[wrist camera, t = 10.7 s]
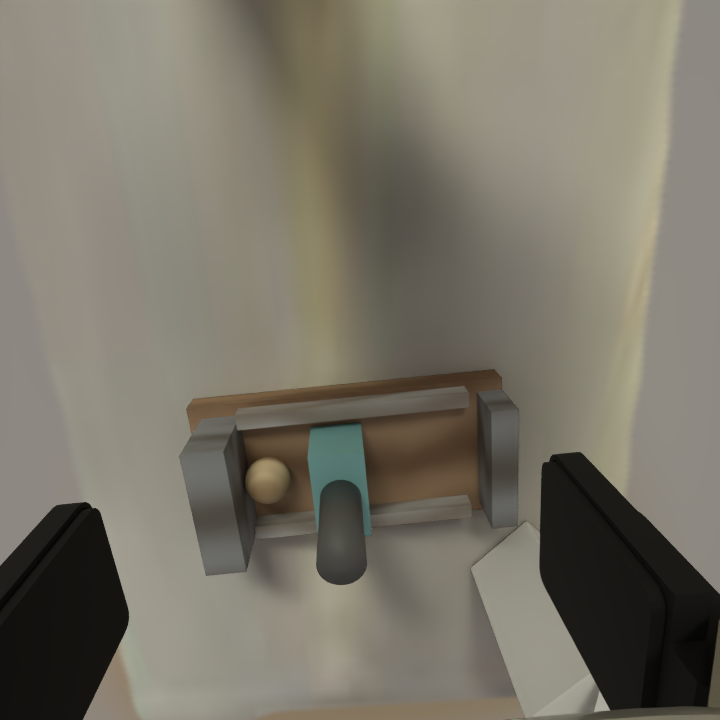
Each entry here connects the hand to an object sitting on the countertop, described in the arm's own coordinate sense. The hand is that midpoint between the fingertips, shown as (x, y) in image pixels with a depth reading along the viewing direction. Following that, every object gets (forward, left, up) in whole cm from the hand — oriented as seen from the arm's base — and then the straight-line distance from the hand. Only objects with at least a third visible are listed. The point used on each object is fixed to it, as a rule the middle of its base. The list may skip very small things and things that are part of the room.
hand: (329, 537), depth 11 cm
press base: (+14, 0, -30) cm, 33 cm away
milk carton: (+28, +15, -31) cm, 44 cm away
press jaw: (+14, -1, -28) cm, 31 cm away
